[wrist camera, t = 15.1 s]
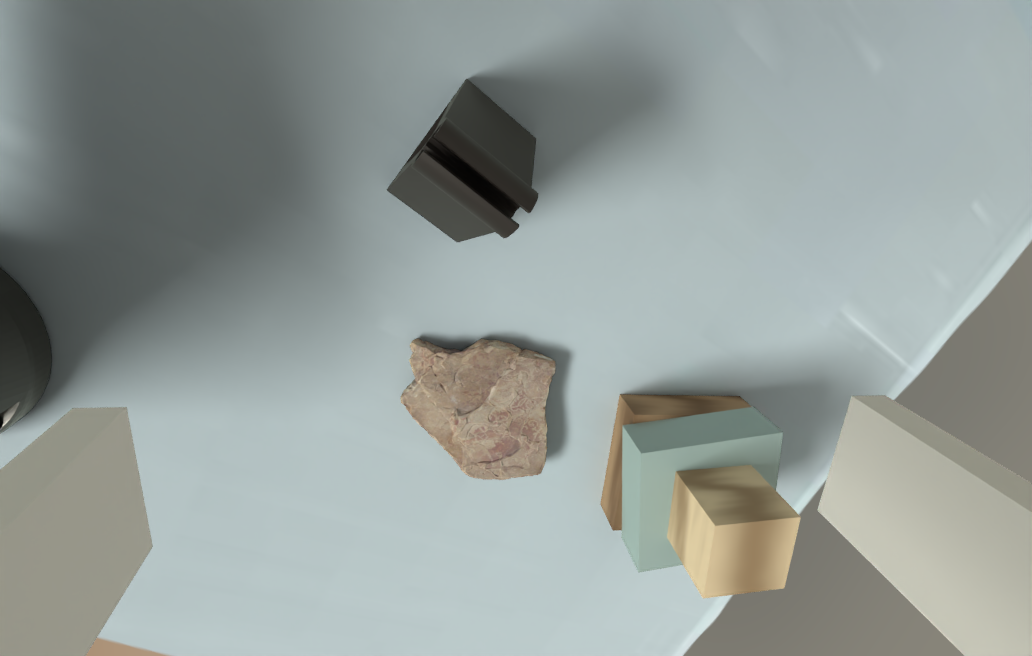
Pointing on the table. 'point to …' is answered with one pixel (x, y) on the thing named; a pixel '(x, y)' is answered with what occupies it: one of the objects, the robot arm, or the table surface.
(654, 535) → the tower top
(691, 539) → the oak block
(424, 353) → the stone
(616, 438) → the tower base
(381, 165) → the table surface
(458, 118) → the phone stand
